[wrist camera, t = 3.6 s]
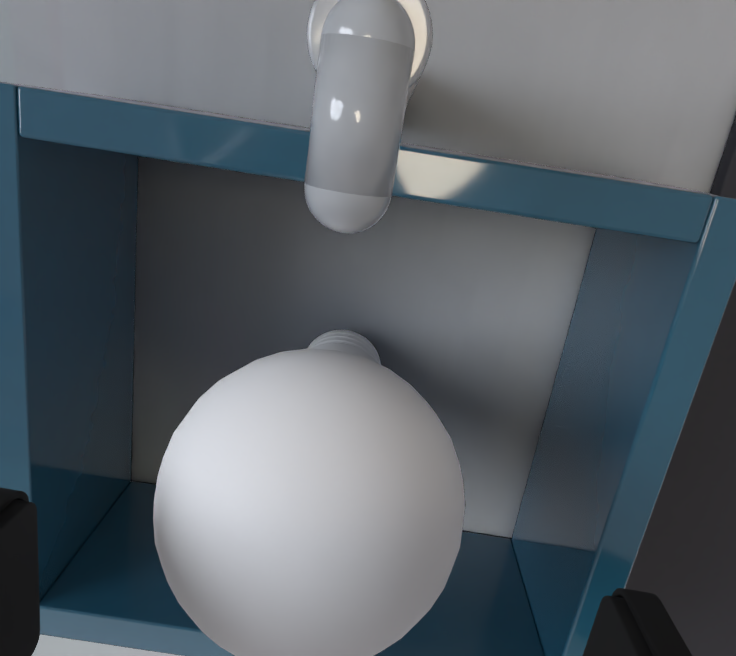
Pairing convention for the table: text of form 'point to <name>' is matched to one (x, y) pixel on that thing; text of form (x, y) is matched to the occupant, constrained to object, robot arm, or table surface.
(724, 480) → the mat
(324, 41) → the sink
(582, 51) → the table surface
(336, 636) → the lightbulb
